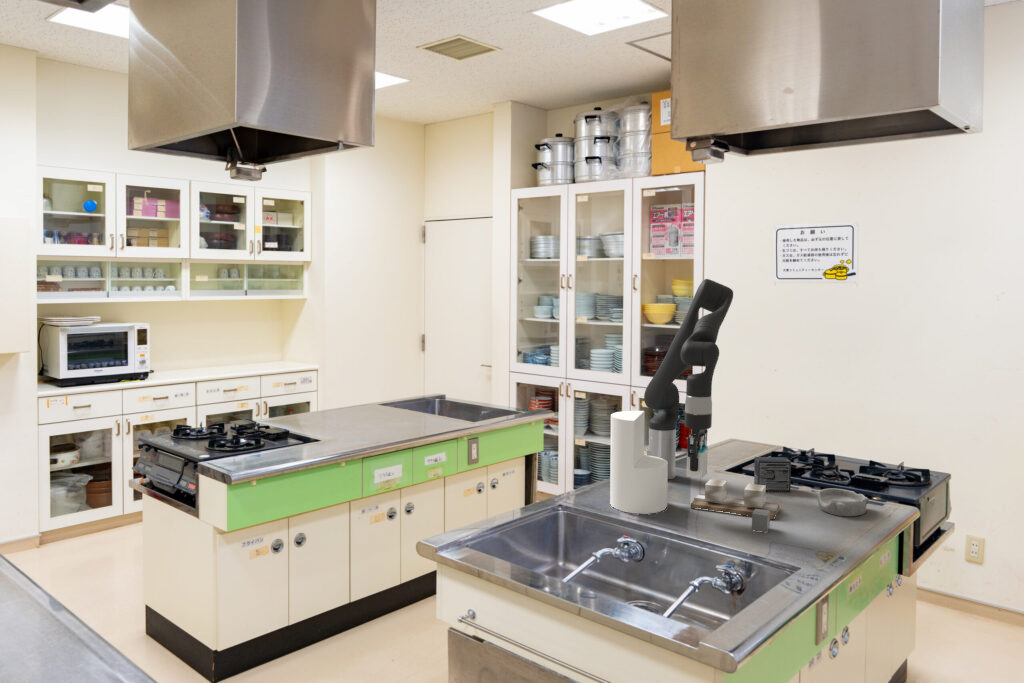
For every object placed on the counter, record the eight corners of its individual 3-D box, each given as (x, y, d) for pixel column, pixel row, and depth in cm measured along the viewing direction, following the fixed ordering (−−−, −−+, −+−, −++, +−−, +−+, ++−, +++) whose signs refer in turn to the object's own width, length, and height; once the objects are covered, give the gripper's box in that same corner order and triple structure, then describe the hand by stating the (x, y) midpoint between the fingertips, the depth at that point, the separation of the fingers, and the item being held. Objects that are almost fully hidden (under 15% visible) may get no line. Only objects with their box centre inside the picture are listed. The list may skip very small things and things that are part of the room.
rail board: (690, 508, 228) (690, 485, 227) (699, 498, 238) (700, 475, 238) (773, 520, 217) (774, 495, 216) (779, 508, 227) (780, 484, 227)
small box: (786, 487, 250) (786, 456, 249) (791, 493, 244) (792, 461, 243) (753, 486, 251) (754, 456, 250) (757, 492, 245) (758, 460, 244)
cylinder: (604, 511, 226) (605, 419, 223) (616, 495, 242) (617, 409, 240) (662, 517, 220) (663, 422, 218) (671, 500, 236) (672, 412, 234)
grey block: (751, 531, 208) (752, 513, 207) (754, 526, 212) (755, 508, 212) (766, 533, 206) (767, 515, 205) (769, 528, 210) (770, 510, 210)
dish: (845, 520, 216) (846, 503, 216) (806, 507, 229) (807, 491, 228) (878, 513, 223) (879, 496, 223) (839, 501, 235) (839, 485, 235)
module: (686, 476, 216) (687, 449, 215) (691, 471, 222) (692, 444, 221) (702, 478, 214) (702, 451, 213) (706, 473, 219) (707, 446, 219)
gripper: (691, 405, 224) (690, 461, 226) (678, 413, 211) (677, 472, 213) (717, 408, 221) (715, 464, 222) (705, 416, 208) (703, 475, 210)
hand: (696, 468), depth 218 cm, fingers closed on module, 6 cm apart
